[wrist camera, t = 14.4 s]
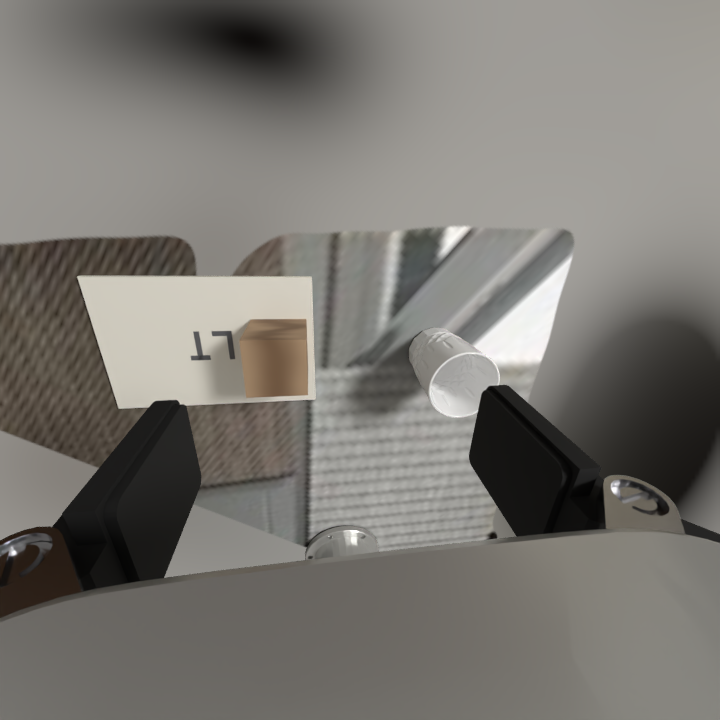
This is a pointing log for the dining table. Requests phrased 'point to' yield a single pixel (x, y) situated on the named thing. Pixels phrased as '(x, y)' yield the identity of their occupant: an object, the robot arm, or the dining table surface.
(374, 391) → the dining table surface
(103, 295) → the board
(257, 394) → the walnut block
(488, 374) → the white cup
